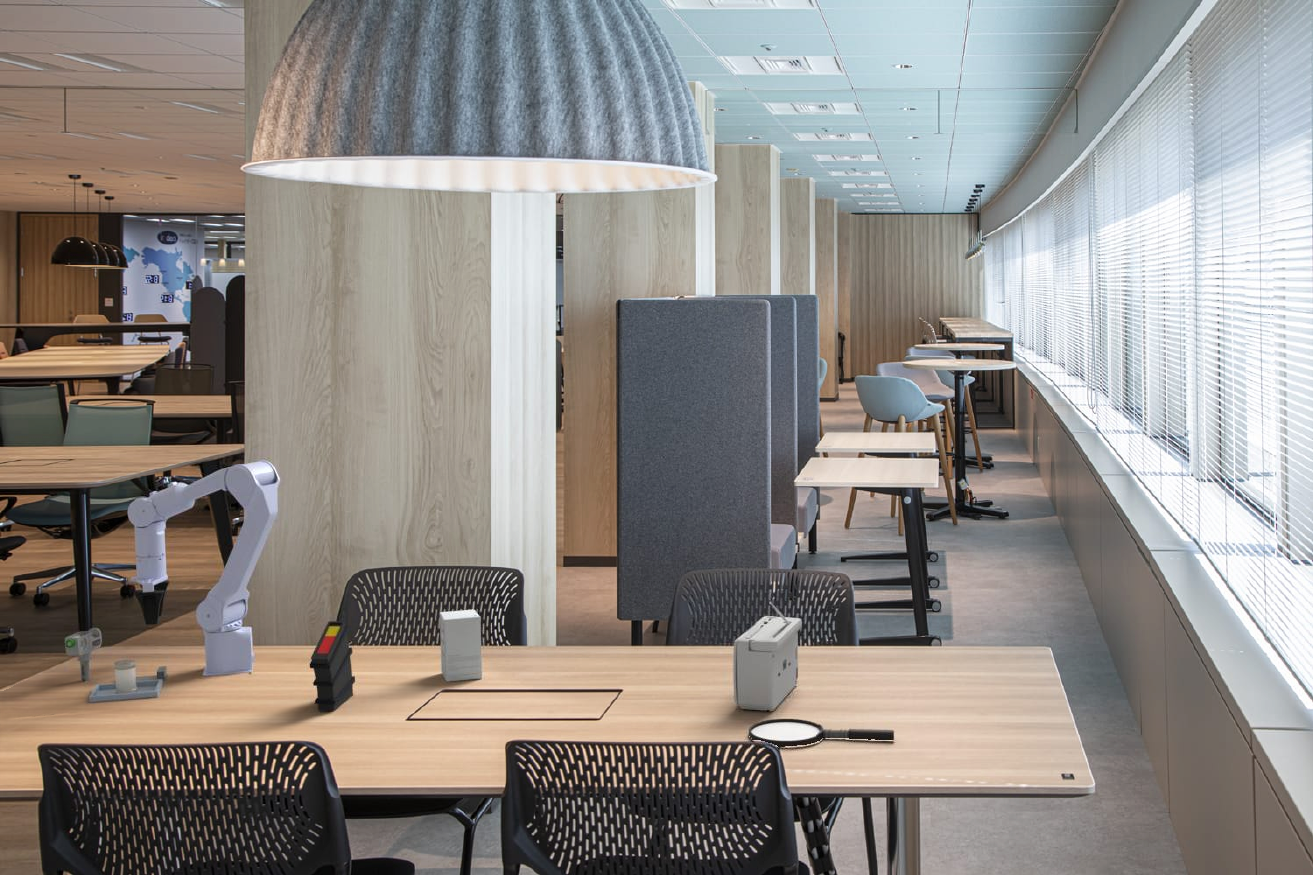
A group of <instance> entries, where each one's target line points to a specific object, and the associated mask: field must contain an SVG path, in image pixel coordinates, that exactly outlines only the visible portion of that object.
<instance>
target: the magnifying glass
mask: <svg viewBox="0 0 1313 875" xmlns="http://www.w3.org/2000/svg"><path fill="white" fill-rule="evenodd" d="M749 736H750V738H752V740H761V741H765V742H768V743H772V744H774V745H777V746H778V747H779V748H778V749H781V748H780V747H785V746H797V745H807V744H811V743H815V742H817V741H820V740H821V739H822V738H849V739H868V740H871V739H875V740H894V741H895V731H894V729H870V728H869V729H866V728H854V729H853V728H849V729H842V728H841V729H832V728H830V729H828V728H825V729H824V727H823V725H822V724H818V723H816V722H813V721H811V720H806V719H800V718H799V719H798V718H775V719H768V720H762V721H759V722H757V723H756V722H755V723H754V724H752V725H750V727H749V728H748V737H749ZM750 738H749V739H750ZM752 740H751V741H752Z"/></svg>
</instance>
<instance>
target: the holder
mask: <svg viewBox="0 0 1313 875" xmlns="http://www.w3.org/2000/svg"><path fill="white" fill-rule="evenodd" d="M167 673H168V671H167V665H162V666H158V668H157V670H156V674H154V675H143V676H142V675H140V676H136V681H146V680H159V679H163V682H166V680H167V678H168V676H169V674H167Z"/></svg>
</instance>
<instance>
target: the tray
mask: <svg viewBox="0 0 1313 875" xmlns="http://www.w3.org/2000/svg"><path fill="white" fill-rule="evenodd" d="M163 684H164V681H163V679H159V680H146V681H136V686H137V692H133V693H121V694H116V682H111V683H109V682H108V683H97V684H95V686H94V688H93V689H92V691H91V692H90V694H89V696H88V703H89V704H93V703H104V702H116V701H117V702H118V701H129V700H142V699H152V698H153V699H154V698H156V699H157V698H158V697H159V695H160V693H161V690H162V688H163V686H164V685H163Z"/></svg>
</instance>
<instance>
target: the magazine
mask: <svg viewBox="0 0 1313 875" xmlns="http://www.w3.org/2000/svg"><path fill="white" fill-rule="evenodd" d="M348 631H349V625H348V624H347V625H346V624H345V621H341V620H339V621H338V620H336V621H335V620H334V621H333V620H331V621H327V624H326V626H325V628H324V630H323V632H322V634H321V636H320V637H319V640H318V642H317V644H316V647H315V648H314V650H313V652H312V655H311V657H310V659H311V660H310V663H309V669H313V672H314V677H315V679H314V681H313V682H312V684H313V687H314V686H315V687H316V695H317V697H316V699H314V705H317V710H318V712H335V711H336V710H337V709H338V708H339V707H341V706H343V704H344V703H346V702H347V701H348V700H350V698H351V697H352V696H353V695H354V693H353V692H354V691H353V690H354V689H353V686H354V684H355V683H356V676H354V675H353V670H352V660H351V656H352V654H353V653H354V652H353V648H352V647H350V645H349V638H348V634H347V633H348Z"/></svg>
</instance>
